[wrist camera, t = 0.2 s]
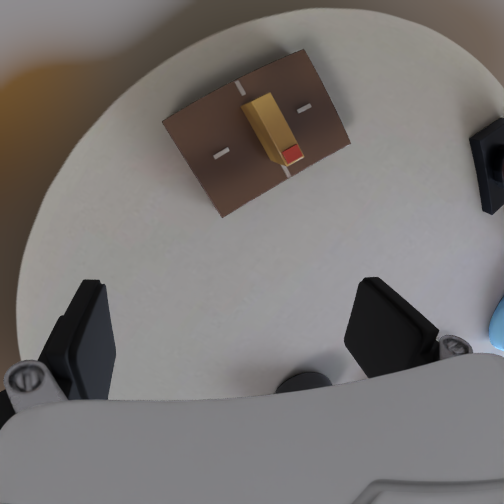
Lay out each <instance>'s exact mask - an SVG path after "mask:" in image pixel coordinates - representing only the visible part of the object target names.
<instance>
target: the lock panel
mask: <svg viewBox="0 0 504 504" xmlns="http://www.w3.org/2000/svg"><path fill="white" fill-rule="evenodd" d="M269 92H270V93H271V95H272V96H273V98H274V100H275V102H276V104H277V105H278V107H279V109H280V111H281V113H282V114H283V116H284V118H285V120H286V122H287V124H288V126H289V128H290V130H291V131H292V133H293V135H294V137H295V139H296V141H297V143H298V145H299V147H300V149H301V151H302V153H303V155H304V157H303V158H302V159H300V160H298V161H296V162H295V163H293V164H291V165H289V166H287V167H286V166H284V165H281V164H278V163H276V162H273V161H271V160H270V158H269V157H268V155H267V153H266V151H265V149H264V147H263V146H262V144H261V142H260V140H259V138H258V137H257V135H256V133H255V131H254V130H253V128H252V126H251V124H250V122H249V121H248V119H247V117H246V116H245V114H244V112H243V110H242V109H241V107H240V106H241V105H243V104H245V103H247V102H249V101H251V100H253V99H255V98H257V97H259V96H262V95H264V94H266V93H269ZM162 123H163V125H164V126H165V128H166V129H167V131H168V133H169V134H170V136H171V138H172V139H173V141H174V142H175V144H176V146H177V147H178V149H179V150H180V152H181V154H182V155H183V157H184V158H185V160H186V162H187V163H188V165H189V166H190V168H191V170H192V171H193V173H194V174H195V176H196V178H197V179H198V181H199V182H200V184H201V186H202V187H203V189H204V190H205V192H206V194H207V195H208V197H209V198H210V200H211V201H212V203H213V205H214V206H215V208H216V209H217V211H218V213H219V214H220V216H221V217H222V218H223V217H225V216H227V215H228V214H230V213H232V212H233V211H235V210H236V209H238V208H240V207H241V206H243V205H245V204H246V203H248V202H250V201H251V200H253V199H255V198H256V197H258V196H260V195H262V194H263V193H265V192H267V191H268V190H270V189H272V188H273V187H275V186H277V185H279V184H280V183H282V182H284V181H285V180H287V179H289V178H291V177H292V176H294V175H296V174H298V173H299V172H301V171H303V170H305V169H306V168H308V167H310V166H312V165H313V164H315V163H317V162H319V161H320V160H322V159H324V158H326V157H328V156H329V155H331V154H333V153H335V152H337V151H338V150H340V149H342V148H344V147H346V146H347V145H349V144H351V142H350V140H349V138H348V135H347V133H346V131H345V129H344V126H343V124H342V122H341V120H340V118H339V116H338V114H337V111H336V109H335V107H334V105H333V103H332V101H331V99H330V97H329V95H328V93H327V91H326V89H325V87H324V85H323V83H322V81H321V79H320V78H319V76H318V74H317V72H316V70H315V68H314V66H313V65H312V63H311V61H310V59H309V57H308V55H307V54H306V52H305V50H304V49H302V50H300V51H297V52H295V53H293V54H290V55H288V56H285V57H283V58H281V59H278V60H276V61H274V62H272V63H269V64H267V65H265V66H263V67H261V68H259V69H256V70H254V71H252V72H250V73H248V74H246V75H244V76H242V77H240V78H238V79H236V80H234V81H232V82H230V83H228V84H226V85H224V86H222V87H220V88H219V89H217V90H215V91H213V92H211V93H209V94H208V95H206V96H204V97H202V98H200V99H199V100H197V101H195V102H193V103H192V104H190V105H188V106H186V107H185V108H183V109H181V110H180V111H178V112H176V113H175V114H173V115H172V116H170V117H168V118H167V119H165V120H163V121H162Z"/></svg>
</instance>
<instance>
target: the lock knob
mask: <svg viewBox="0 0 504 504" xmlns="http://www.w3.org/2000/svg"><path fill="white" fill-rule="evenodd" d="M240 107H241V109H242V110H243V112H244V114H245V116H246V117H247V119H248V121H249V122H250V124H251V126H252V128H253V130H254V131H255V133H256V135H257V137H258V138H259V140H260V142H261V144H262V146H263V147H264V149H265V151H266V153H267V155H268V157H269V158H270V160H271V161H273V162H276V163H278V164H281V165H284V166H286V167H287V166H289V165H291V164H293V163H295V162H296V161H298V160H300V159H302V158H303V157H304V155H303V153H302V151H301V149H300V147H299V145H298V143H297V141H296V139H295V137H294V135H293V133H292V131H291V130H290V128H289V126H288V124H287V122H286V120H285V118H284V116H283V114H282V113H281V111H280V109H279V107H278V105H277V104H276V102H275V100H274V98H273V96H272V95H271V93H270V92H269V93H266V94H264V95H262V96H259V97H257V98H255V99H253V100H251V101H249V102H247V103H245V104H243V105H241V106H240Z"/></svg>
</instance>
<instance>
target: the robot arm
mask: <svg viewBox="0 0 504 504" xmlns="http://www.w3.org/2000/svg"><path fill="white" fill-rule="evenodd" d="M438 333H439V329H437V328H436V327H435V326H434V325H433V324H432V323H431V322H430V321H429V320H427V319H426V318H425V317H424V316H423V315H422V314H421V313H420V312H418V311H417V310H416V309H415V308H414V307H413V306H412V305H410V304H409V303H408V302H407V301H406V300H405V299H404V298H402V297H401V296H400V295H399V294H398V293H397V292H395V291H394V290H393V289H392V288H391V287H390V286H388V285H387V284H386V283H385V282H384V281H383V280H381V279H380V278H379V277H367V278H364V279H363V280H362V281H361V282H360V283H359V285H358V289H357V293H356V297H355V301H354V305H353V308H352V312H351V316H350V319H349V323H348V326H347V330H346V333H345V337H344V343H345V346H346V347H347V349H348V350H349V352H350V353H351V354H352V356H353V357H354V359H355V360H356V361H357V363H358V364H359V366H360V367H361V368H362V370H363V371H364V373H365V374H366V375H367V377H368V378H369V379H364V380H360V381H355V382H349V383H344V384H339V385H333V386H327V387H321V388H315V389H309V390H302V391H295V392H288V393H280V394H271V395H261V396H251V397H239V398H225V399H207V400H174V401H151V400H108V394H109V388H110V383H111V378H112V372H113V367H114V362H115V358H116V347H115V342H114V336H113V331H112V325H111V319H110V312H109V305H108V298H107V291H106V286H105V284H101V283H100V280H83V281H82V283H81V285H80V286H79V288H78V290H77V292H76V294H75V295H74V297H73V299H72V301H71V303H70V305H69V306H68V308H67V310H66V312H65V314H64V316H63V315H62V316H60V317H59V319H58V320H57V322H56V324H55V326H54V328H53V330H52V332H51V334H50V336H49V338H48V340H47V342H46V344H45V346H44V348H43V350H42V352H41V354H40V357H39V359H38V361H36V360H24V361H21V362H18V363H16V364H14V365H13V366H12V367H10V368H9V369H8V371H7V372H6V374H5V376H4V386H5V388H6V389H5V390H3V391H1V392H0V504H504V358H503V357H502V356H499V355H495V354H490V353H473V350H472V347H471V346H470V345H469V343H468V342H466V341H465V340H463V339H462V338H460V337H457V336H453V335H445V336H442V337H441V338H440V340H439V342H438V341H437V340H436V337H437V335H438Z"/></svg>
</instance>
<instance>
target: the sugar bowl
mask: <svg viewBox="0 0 504 504" xmlns="http://www.w3.org/2000/svg"><path fill="white" fill-rule="evenodd" d="M489 338H490V342H491V344H492V345H493V346H494V347H496V348H497V349H499V350H502V351H504V297H503V298H502V300H501V301H500V303H499V304H498V306H497V308H496V310H495V312H494V314H493V316H492V318H491V321H490V325H489Z"/></svg>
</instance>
